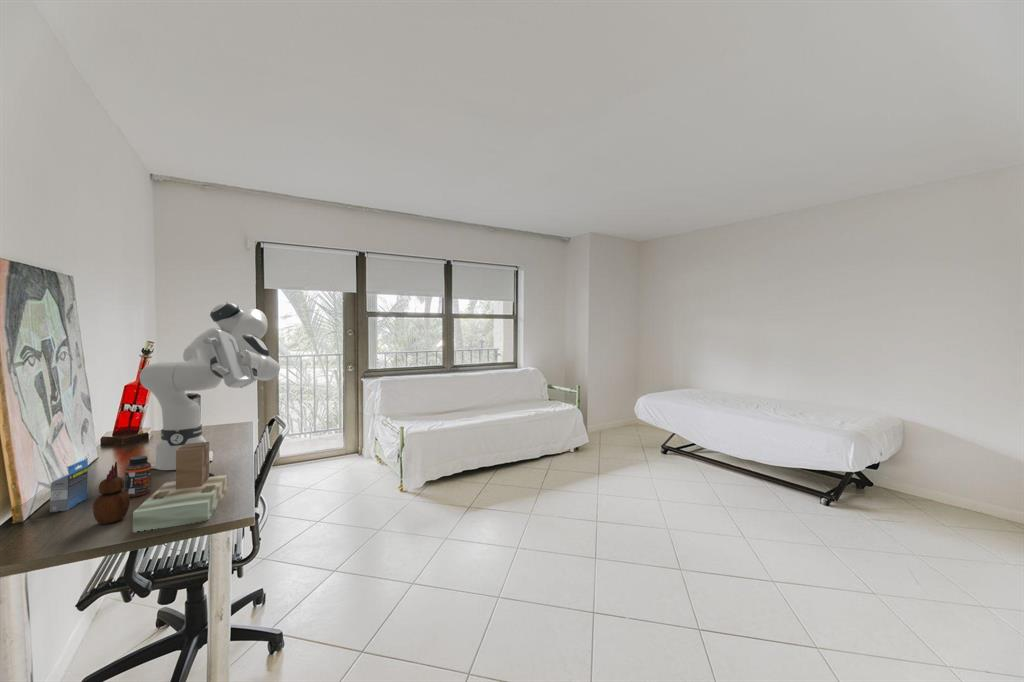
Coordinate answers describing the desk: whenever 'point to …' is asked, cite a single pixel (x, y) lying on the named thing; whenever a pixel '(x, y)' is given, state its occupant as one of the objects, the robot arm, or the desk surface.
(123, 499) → the wooden figurine
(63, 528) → the desk surface
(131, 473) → the supplement bottle
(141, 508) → the trap runway
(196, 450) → the walnut block
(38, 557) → the desk surface
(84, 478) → the label tape box
